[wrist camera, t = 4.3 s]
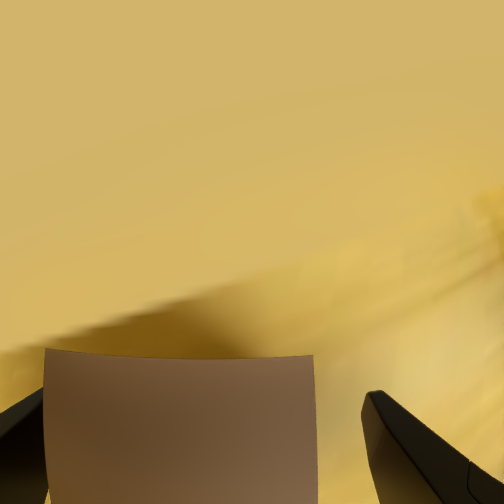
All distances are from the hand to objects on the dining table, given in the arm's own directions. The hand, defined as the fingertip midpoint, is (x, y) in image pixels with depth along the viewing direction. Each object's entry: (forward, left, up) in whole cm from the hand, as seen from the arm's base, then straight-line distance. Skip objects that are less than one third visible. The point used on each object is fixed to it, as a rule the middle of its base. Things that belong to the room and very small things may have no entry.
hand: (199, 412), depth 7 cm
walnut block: (-1, +1, -7) cm, 7 cm away
